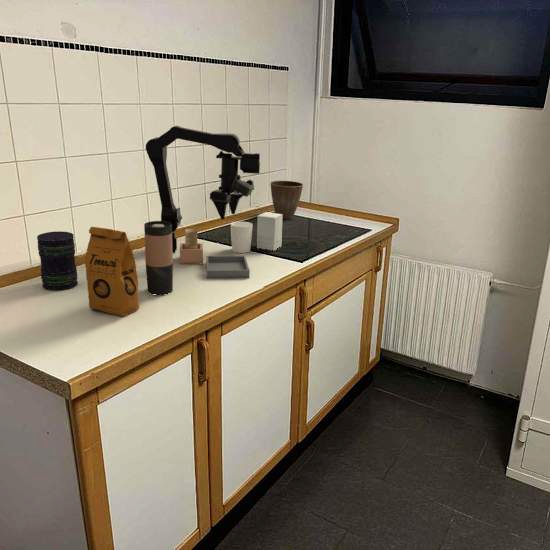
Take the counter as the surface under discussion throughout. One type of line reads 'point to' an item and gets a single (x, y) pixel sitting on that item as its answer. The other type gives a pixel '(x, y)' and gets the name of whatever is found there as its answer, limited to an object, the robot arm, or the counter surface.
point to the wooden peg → (190, 238)
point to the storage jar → (57, 260)
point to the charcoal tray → (227, 267)
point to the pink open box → (191, 254)
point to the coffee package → (111, 272)
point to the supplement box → (269, 231)
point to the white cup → (241, 236)
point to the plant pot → (286, 197)
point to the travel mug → (159, 257)
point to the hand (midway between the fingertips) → (228, 216)
